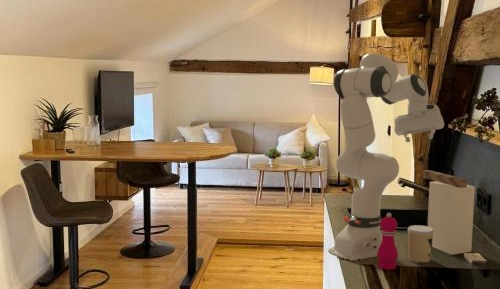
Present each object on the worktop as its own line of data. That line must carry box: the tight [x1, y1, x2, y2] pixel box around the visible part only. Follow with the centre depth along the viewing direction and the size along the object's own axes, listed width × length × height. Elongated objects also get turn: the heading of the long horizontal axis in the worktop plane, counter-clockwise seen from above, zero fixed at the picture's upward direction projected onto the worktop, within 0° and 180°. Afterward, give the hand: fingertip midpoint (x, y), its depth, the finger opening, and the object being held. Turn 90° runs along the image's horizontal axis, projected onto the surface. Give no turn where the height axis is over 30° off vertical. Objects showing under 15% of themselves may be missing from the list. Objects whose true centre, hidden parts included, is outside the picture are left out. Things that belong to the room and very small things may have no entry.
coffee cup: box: [407, 224, 434, 264], centre depth 207 cm, size 9×9×12 cm
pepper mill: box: [377, 212, 399, 270], centre depth 198 cm, size 7×7×20 cm
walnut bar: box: [422, 169, 468, 188], centre depth 221 cm, size 22×3×3 cm, turn 22°
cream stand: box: [427, 180, 476, 256], centre depth 219 cm, size 14×10×26 cm
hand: (419, 139), depth 231 cm, fingers open, 8 cm apart
